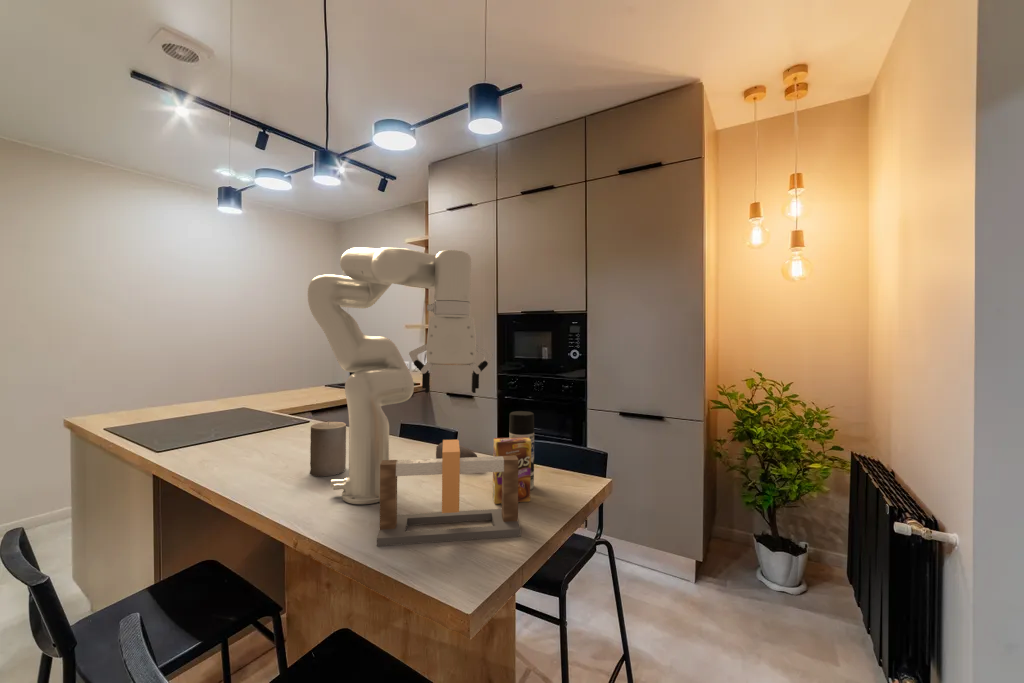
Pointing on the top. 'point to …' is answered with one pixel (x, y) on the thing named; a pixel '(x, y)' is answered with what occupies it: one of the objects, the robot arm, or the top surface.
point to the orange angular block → (450, 476)
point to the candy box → (523, 453)
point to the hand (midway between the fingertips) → (450, 392)
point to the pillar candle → (328, 448)
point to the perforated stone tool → (463, 452)
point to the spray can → (523, 432)
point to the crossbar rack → (396, 524)
